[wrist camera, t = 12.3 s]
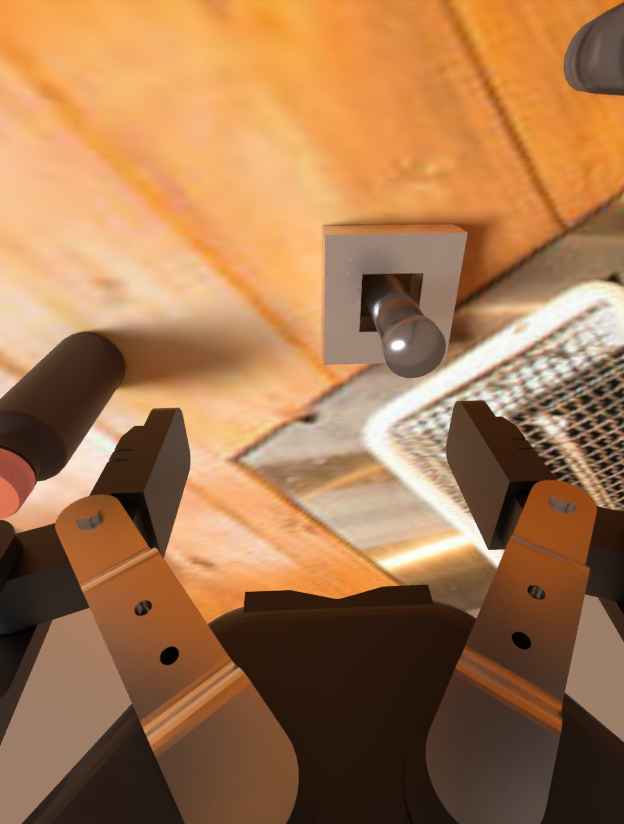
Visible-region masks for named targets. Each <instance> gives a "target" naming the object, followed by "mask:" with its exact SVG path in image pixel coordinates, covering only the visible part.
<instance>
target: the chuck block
mask: <svg viewBox="0 0 624 824" xmlns="http://www.w3.org/2000/svg"><path fill="white" fill-rule="evenodd" d="M467 234H468V232H466V231H464V230H463V229H461V228H459V227H458V226H456V225H454V224H405V225H340V226H322V355H323V362H324V365H329V364H370V363H386V361H385V358H384V356H383V353H382V348H381V343H382V341H381V338H380V336H379V334H378V331H377V329H376V327H375V324H374V322H373V319H372V317H371V316H370V317H360V309H361V290H362V274H399V273H412V276H411V284H410V293H409V295H410V296H411V298H412V299H413V300H414V302H415V303H416V305H417V306H418V307H419V309H420V310H421V312H422V313H423V315H424V316H425V317H427V318H429V319H431V320H432V321H433V322H434V323H435V324H436V325H437V327H438V328H439V329H440V331H441V332H442V334H443V335H444V338H445V342H446V350H445V354H444V357H443V359H442V361H441V362H446V356H447V350H448V344H449V338H450V333H451V327H452V321H453V315H454V309H455V304H456V298H457V292H458V286H459V281H460V275H461V269H462V263H463V257H464V252H465V246H466V240H467Z"/></svg>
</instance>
